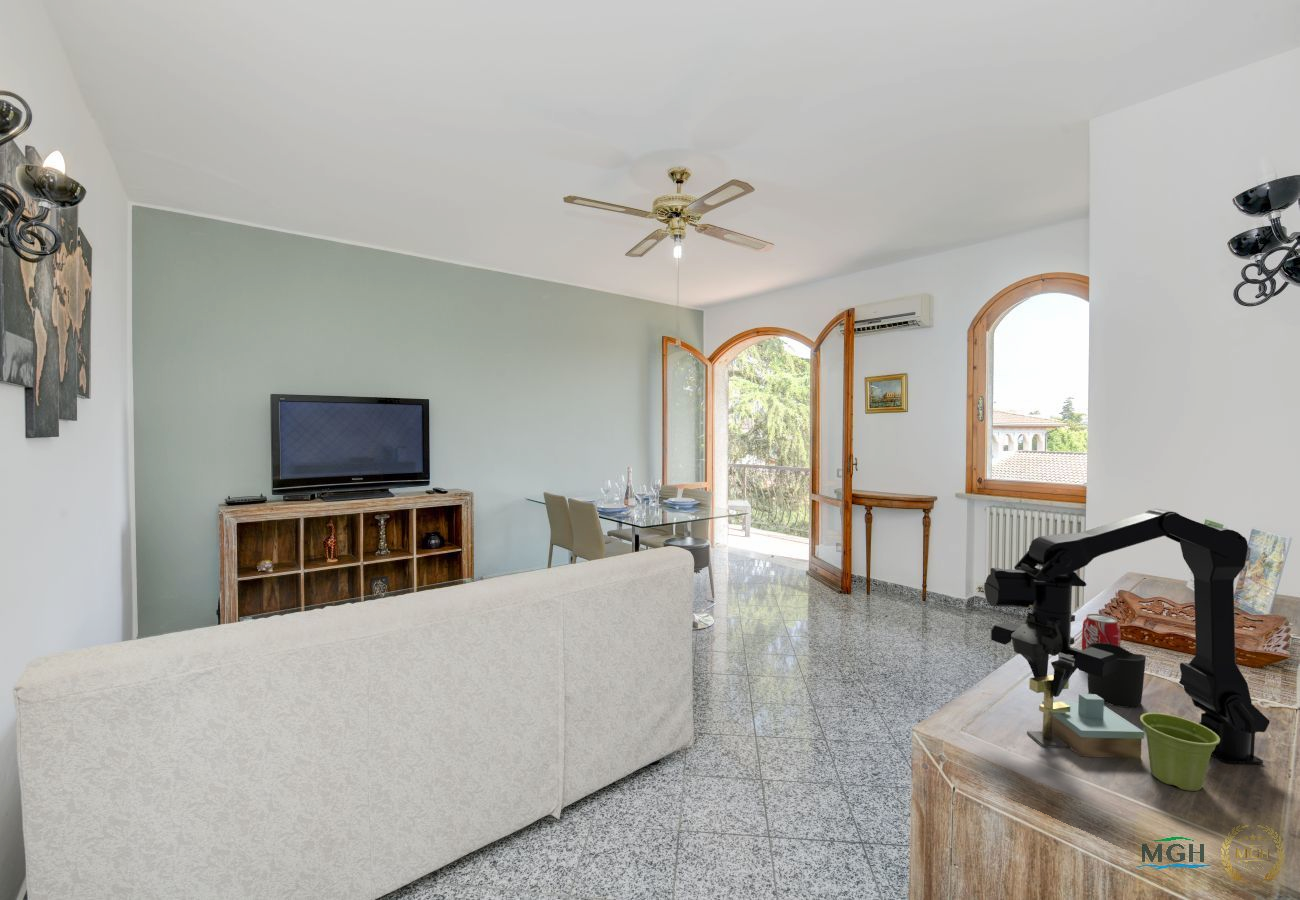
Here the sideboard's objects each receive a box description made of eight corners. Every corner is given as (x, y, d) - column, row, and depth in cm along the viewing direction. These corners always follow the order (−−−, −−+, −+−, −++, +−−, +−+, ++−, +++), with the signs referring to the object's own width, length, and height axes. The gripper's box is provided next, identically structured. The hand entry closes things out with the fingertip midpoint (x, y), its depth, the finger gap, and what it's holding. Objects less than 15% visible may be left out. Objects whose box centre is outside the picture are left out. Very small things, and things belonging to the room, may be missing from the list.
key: (1059, 731, 105) (1062, 673, 105) (1069, 737, 104) (1071, 677, 103) (1027, 737, 104) (1029, 677, 103) (1036, 742, 102) (1038, 682, 101)
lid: (1098, 708, 108) (1099, 684, 108) (1143, 738, 98) (1144, 711, 98) (1042, 707, 109) (1043, 683, 108) (1081, 737, 98) (1082, 710, 98)
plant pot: (1176, 762, 97) (1178, 712, 97) (1234, 798, 88) (1237, 743, 87) (1122, 763, 97) (1124, 712, 96) (1175, 799, 87) (1178, 744, 87)
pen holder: (1135, 693, 122) (1137, 647, 121) (1150, 713, 113) (1152, 664, 113) (1081, 684, 126) (1083, 639, 126) (1091, 702, 118) (1093, 655, 117)
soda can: (1073, 663, 137) (1075, 614, 136) (1095, 660, 139) (1096, 611, 138) (1104, 676, 130) (1107, 624, 129) (1126, 672, 132) (1129, 621, 131)
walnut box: (1097, 727, 108) (1098, 708, 108) (1140, 757, 98) (1141, 738, 98) (1018, 725, 109) (1018, 707, 109) (1052, 755, 99) (1053, 736, 99)
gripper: (973, 600, 107) (971, 682, 108) (1085, 632, 91) (1082, 728, 91) (1009, 592, 112) (1007, 670, 113) (1122, 621, 96) (1118, 712, 96)
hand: (1048, 693), depth 103 cm, fingers closed on key, 2 cm apart
